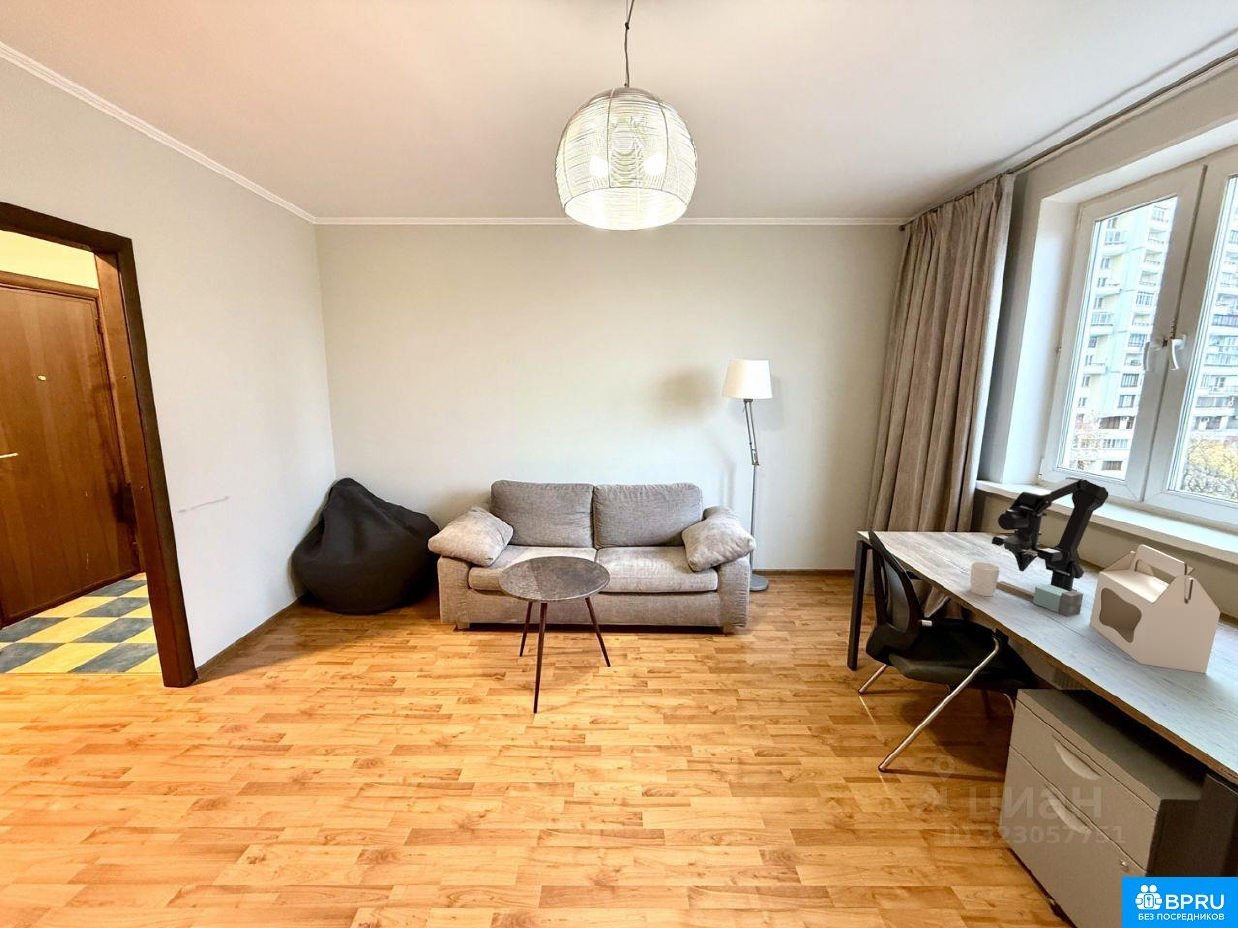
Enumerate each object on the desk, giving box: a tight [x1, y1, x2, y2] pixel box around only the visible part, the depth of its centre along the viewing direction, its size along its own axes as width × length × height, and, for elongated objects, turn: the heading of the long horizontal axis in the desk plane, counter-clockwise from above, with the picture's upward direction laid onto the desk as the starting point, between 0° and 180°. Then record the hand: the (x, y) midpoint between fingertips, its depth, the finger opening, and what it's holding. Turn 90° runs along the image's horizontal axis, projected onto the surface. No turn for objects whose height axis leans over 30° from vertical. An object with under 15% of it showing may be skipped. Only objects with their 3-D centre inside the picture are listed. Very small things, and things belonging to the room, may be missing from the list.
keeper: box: [1032, 583, 1068, 613], centre depth 155 cm, size 7×7×6 cm
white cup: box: [969, 561, 1001, 597], centre depth 166 cm, size 8×8×10 cm
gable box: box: [1089, 544, 1221, 674], centre depth 130 cm, size 22×13×28 cm, turn 162°
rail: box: [996, 580, 1084, 618], centre depth 160 cm, size 6×22×7 cm, turn 18°
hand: (1021, 570), depth 164 cm, fingers closed
